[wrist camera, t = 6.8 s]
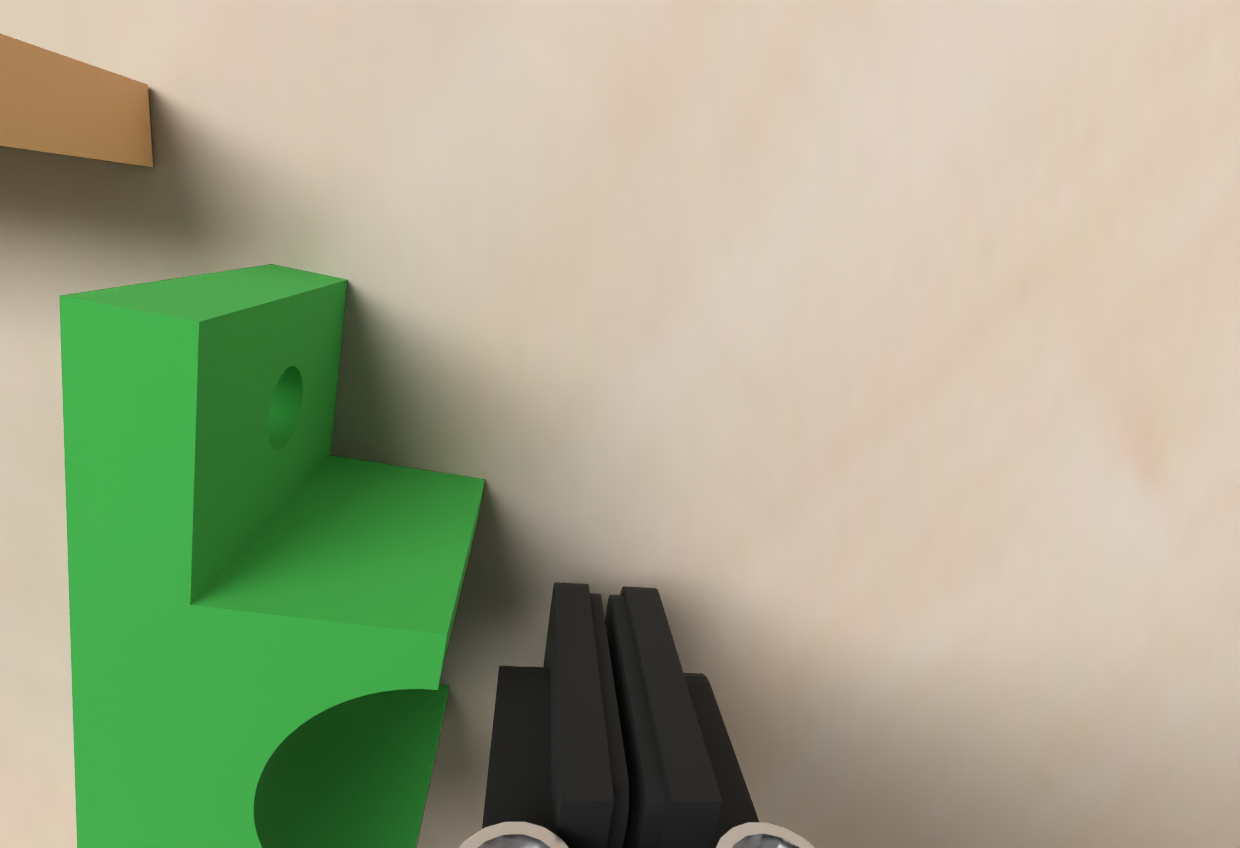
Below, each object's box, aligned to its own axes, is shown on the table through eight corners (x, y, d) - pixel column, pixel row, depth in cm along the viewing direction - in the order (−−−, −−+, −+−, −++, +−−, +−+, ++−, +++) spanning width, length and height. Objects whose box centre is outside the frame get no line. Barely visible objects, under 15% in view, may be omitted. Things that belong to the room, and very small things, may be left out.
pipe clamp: (427, 820, 13) (368, 1108, 8) (242, 807, 12) (83, 1110, 8) (515, 309, 10) (489, 379, 5) (273, 259, 9) (44, 296, 5)
